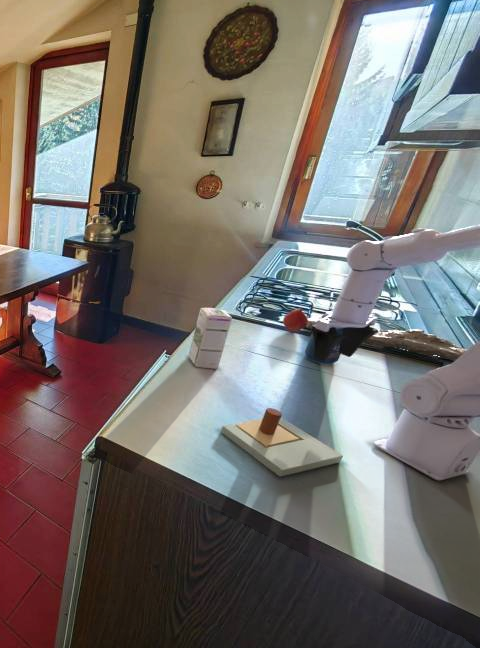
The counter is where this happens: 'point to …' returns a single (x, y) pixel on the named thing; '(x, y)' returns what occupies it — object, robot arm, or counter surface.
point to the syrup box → (209, 337)
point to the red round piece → (295, 320)
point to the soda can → (332, 357)
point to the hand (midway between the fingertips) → (332, 356)
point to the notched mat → (286, 450)
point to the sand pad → (265, 438)
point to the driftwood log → (411, 342)
